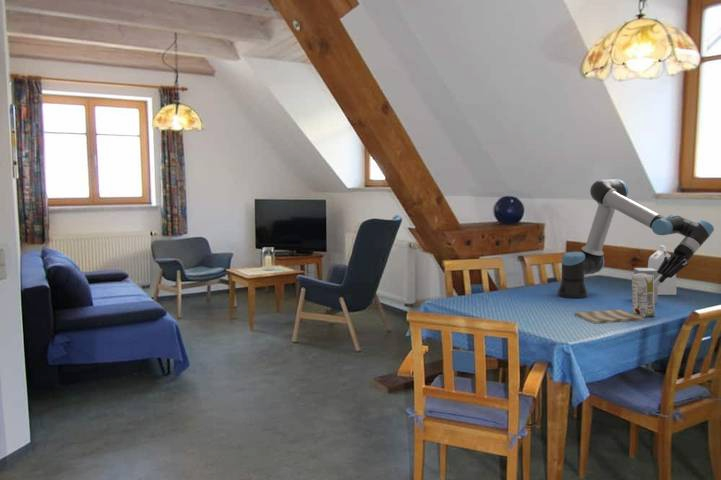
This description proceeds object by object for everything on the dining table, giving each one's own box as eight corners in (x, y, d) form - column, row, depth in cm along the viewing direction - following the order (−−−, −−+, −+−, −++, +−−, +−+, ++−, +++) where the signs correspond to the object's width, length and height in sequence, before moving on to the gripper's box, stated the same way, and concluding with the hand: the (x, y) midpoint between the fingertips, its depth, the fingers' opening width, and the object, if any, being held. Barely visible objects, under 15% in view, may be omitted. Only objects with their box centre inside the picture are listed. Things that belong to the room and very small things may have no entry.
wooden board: (620, 312, 265) (621, 309, 265) (643, 320, 250) (643, 317, 250) (574, 315, 261) (575, 312, 261) (595, 323, 245) (595, 320, 245)
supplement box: (657, 303, 281) (658, 270, 279) (637, 303, 283) (638, 270, 281) (651, 299, 291) (652, 267, 289) (632, 299, 292) (633, 267, 291)
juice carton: (644, 318, 253) (642, 277, 251) (630, 313, 262) (628, 274, 259) (657, 315, 256) (656, 274, 253) (643, 311, 264) (642, 272, 261)
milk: (676, 294, 301) (678, 247, 298) (653, 294, 303) (655, 247, 300) (667, 290, 313) (669, 244, 310) (645, 290, 315) (647, 244, 312)
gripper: (702, 256, 253) (668, 294, 252) (680, 252, 266) (648, 289, 264) (692, 245, 251) (658, 283, 250) (671, 242, 264) (639, 278, 263)
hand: (653, 286), depth 257 cm, fingers closed
